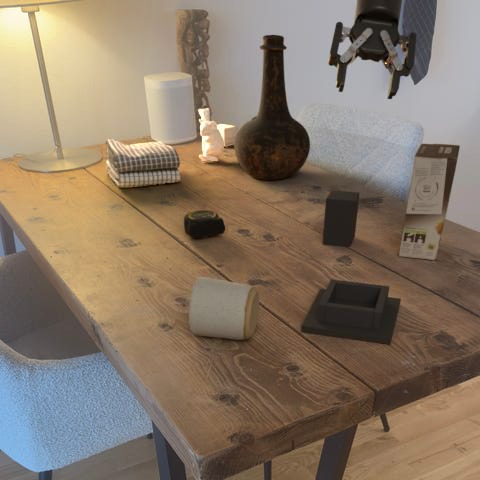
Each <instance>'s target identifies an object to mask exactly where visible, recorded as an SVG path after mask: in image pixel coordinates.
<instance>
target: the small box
mask: <svg viewBox="0 0 480 480" xmlns="http://www.w3.org/2000/svg"><path fill="white" fill-rule="evenodd" d="M217 129H218V130H219V131H220V134H221V136H222V138H223V140H224V146H227V145H230V144H234V143H235V138H236V135H237V133H238V126H237V125H232V124H226V123H219V124H217Z"/></svg>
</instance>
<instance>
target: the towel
mask: <svg viewBox="0 0 480 480" xmlns="http://www.w3.org/2000/svg"><path fill="white" fill-rule="evenodd" d="M105 145H106V150H107V151H106V154H107V160H106V161H105V165H106V166H105V172H106V174H107V173H108V174H109V175H108V174H107V175H108V176H109V177H110V178H111V181H112V182H113V183H114V182H115V183H114V184H115V185H116V186H117V187H118V188H121V189H122V188H124V189H126V188H137V187H140V188H141V187H147V186H155V185H157V184H159V185H165V183H169V184H171V183H172V184H173V183H178V182H181V176H180V175H181V171H180V169H179V168H180V166H181V162H180V161H181V160H180V158H179V153H178V152H177V150H176V148H175V147H174V146H171V145H168V144H166V143H165V142H164V141H149V142H148V141H147V142H141V143H139V142H137V143H132V144H126V143H124V142H121V141H119V140H115V139H112V138H108V139H107V140H106V141H105Z"/></svg>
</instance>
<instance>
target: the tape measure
mask: <svg viewBox="0 0 480 480" xmlns="http://www.w3.org/2000/svg"><path fill="white" fill-rule="evenodd" d="M183 228H184V229H183V230H184V232H185V235H187V236H189V237H190V238H193V239H207V238H209V237H212V236H219V235H223V234H224V233H225V231H226V225H225V222H224V219H223V218H222V217H220V216H219V214H218V213H217V212H216V211H213V210H210V209H198V210H193V211H190V212H188V213H186V214H185V215H184V218H183Z"/></svg>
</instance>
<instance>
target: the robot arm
mask: <svg viewBox="0 0 480 480" xmlns="http://www.w3.org/2000/svg"><path fill="white" fill-rule="evenodd" d="M402 5H403V0H356V6H355V13H354V19H353V20H354V21H353V25H352V27H346V26H344V24H343V22H342V21H338V22H336V23H335V27H334V32H333V35H332V41H331V45H330V51H329V55H328V59H327V64H328V66H331V67H332V66H334V67H335V68H336V70H337V71H336V76H335V77H336V78H335V84H334V85H335V88H337V90H338V92H339V93H343V91H344V88H345V84H346V78H347V70H348V67H349V66H350V64H353V63H354V62H355V61H356V60H357V59H358V58H360V60H362V61H372V62H374V63H375V62H376V63H380V61H381V62H382V64H383V66H384V68H385V69H386V70H388V72H389V74H390V78H389V84H388V90H387V96H386V98H387V99H388V100H393V97H396V96H397V93H398V91H399V89H400V83H401V77H403V76H404V77H406V78H407V77H409V76H410V74H411V72H412V70H413V68H414V67H415V56H416V45H417V34H416V33H415V32H413V31H412V32H410V33H409V35H404V34H403V35H402V34H400V32H399V24H400V17H401V11H402ZM346 38H348V40H349V41H350V43H351V44H350V45H349V47H348V48H347V50H346V51H345V52H344V53H343V54H339V53H338V52H339V48H340V44H342V43H344V42H345V40H346ZM398 45H399V46H400V49H401V51H402V53H404V54H403V63H402V62H401V60H400V57H399V56H398V51H397V49H396V47H397V46H398Z"/></svg>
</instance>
